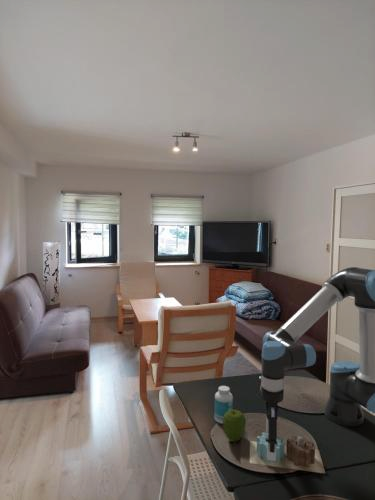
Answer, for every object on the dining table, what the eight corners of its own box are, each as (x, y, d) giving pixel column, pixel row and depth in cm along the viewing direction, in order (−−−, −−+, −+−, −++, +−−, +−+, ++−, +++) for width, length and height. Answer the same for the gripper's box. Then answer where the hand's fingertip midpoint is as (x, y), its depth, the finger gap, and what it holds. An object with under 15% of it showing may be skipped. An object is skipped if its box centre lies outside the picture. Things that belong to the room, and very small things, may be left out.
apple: (229, 449, 124) (230, 419, 123) (218, 436, 132) (218, 407, 131) (249, 444, 128) (250, 414, 127) (237, 431, 135) (238, 403, 134)
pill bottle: (231, 425, 139) (232, 393, 138) (213, 423, 140) (213, 391, 139) (232, 415, 146) (233, 385, 145) (215, 413, 148) (216, 383, 147)
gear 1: (255, 445, 124) (255, 432, 124) (279, 445, 124) (280, 432, 124) (259, 462, 116) (260, 448, 115) (286, 463, 115) (287, 448, 115)
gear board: (318, 453, 123) (319, 430, 122) (325, 477, 111) (326, 452, 110) (249, 444, 127) (250, 422, 127) (249, 467, 115) (250, 442, 115)
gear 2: (311, 451, 122) (312, 437, 121) (316, 468, 113) (317, 454, 112) (285, 447, 123) (286, 434, 123) (288, 464, 114) (288, 450, 114)
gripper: (260, 371, 131) (258, 424, 133) (262, 404, 107) (260, 470, 108) (280, 373, 130) (279, 427, 131) (287, 407, 105) (284, 473, 107)
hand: (270, 446), depth 120 cm, fingers open, 13 cm apart
